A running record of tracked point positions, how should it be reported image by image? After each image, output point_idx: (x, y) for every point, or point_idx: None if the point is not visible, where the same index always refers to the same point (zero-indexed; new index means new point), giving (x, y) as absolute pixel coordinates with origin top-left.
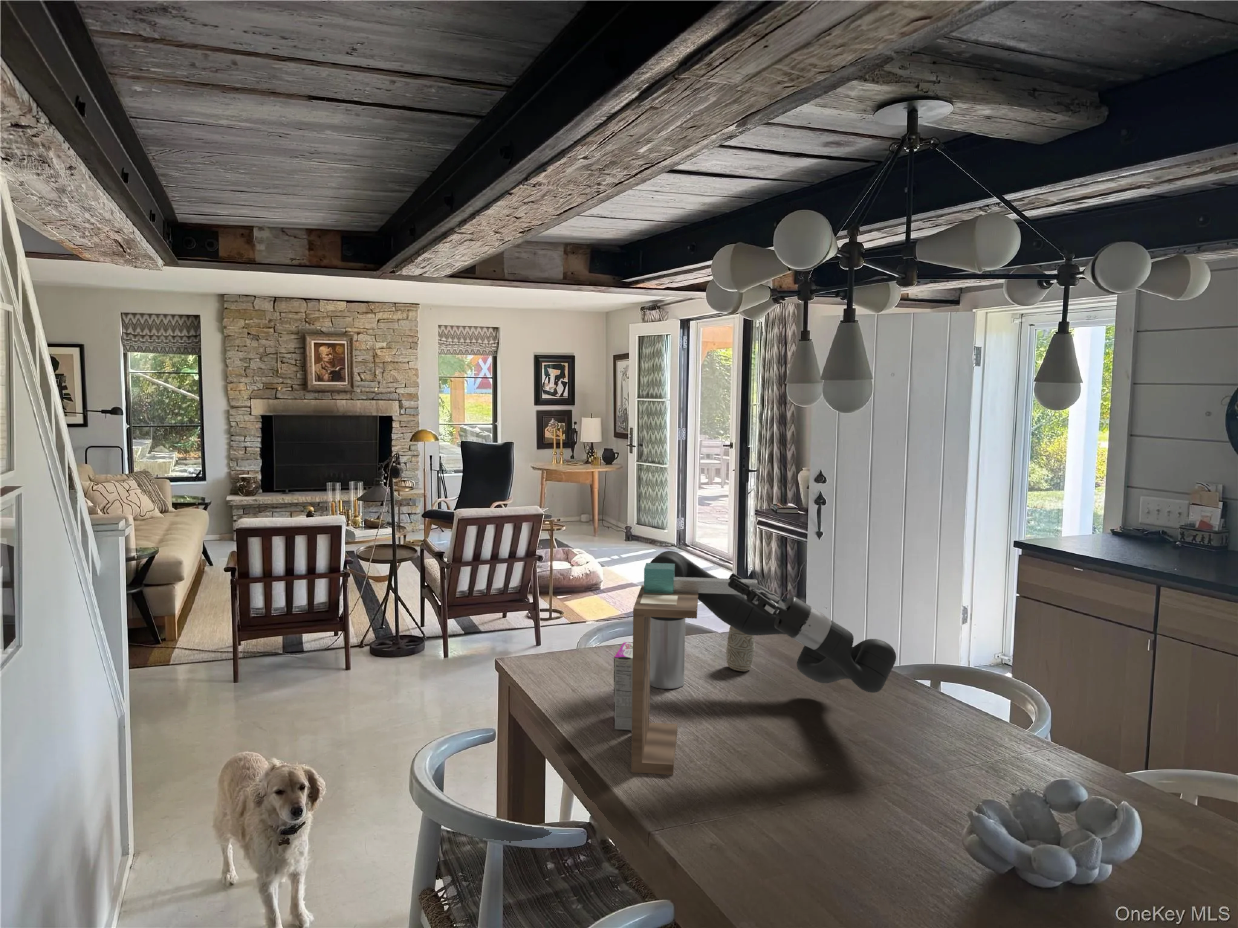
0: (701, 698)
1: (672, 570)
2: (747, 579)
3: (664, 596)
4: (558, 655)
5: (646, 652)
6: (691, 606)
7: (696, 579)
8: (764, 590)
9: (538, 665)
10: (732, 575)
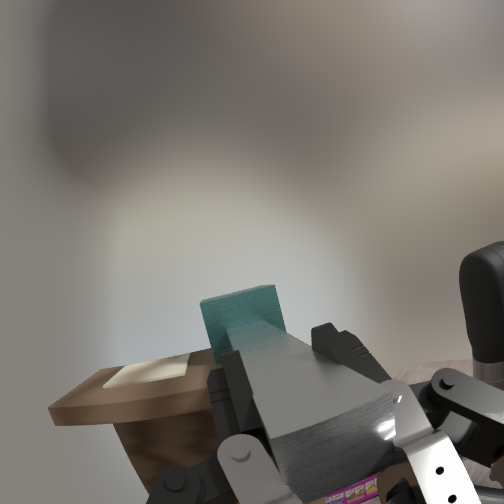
0: (491, 486)
1: (201, 306)
2: (351, 374)
3: (175, 366)
4: (451, 364)
5: (204, 453)
6: (85, 401)
7: (249, 335)
8: (415, 489)
9: (420, 376)
10: (315, 335)
